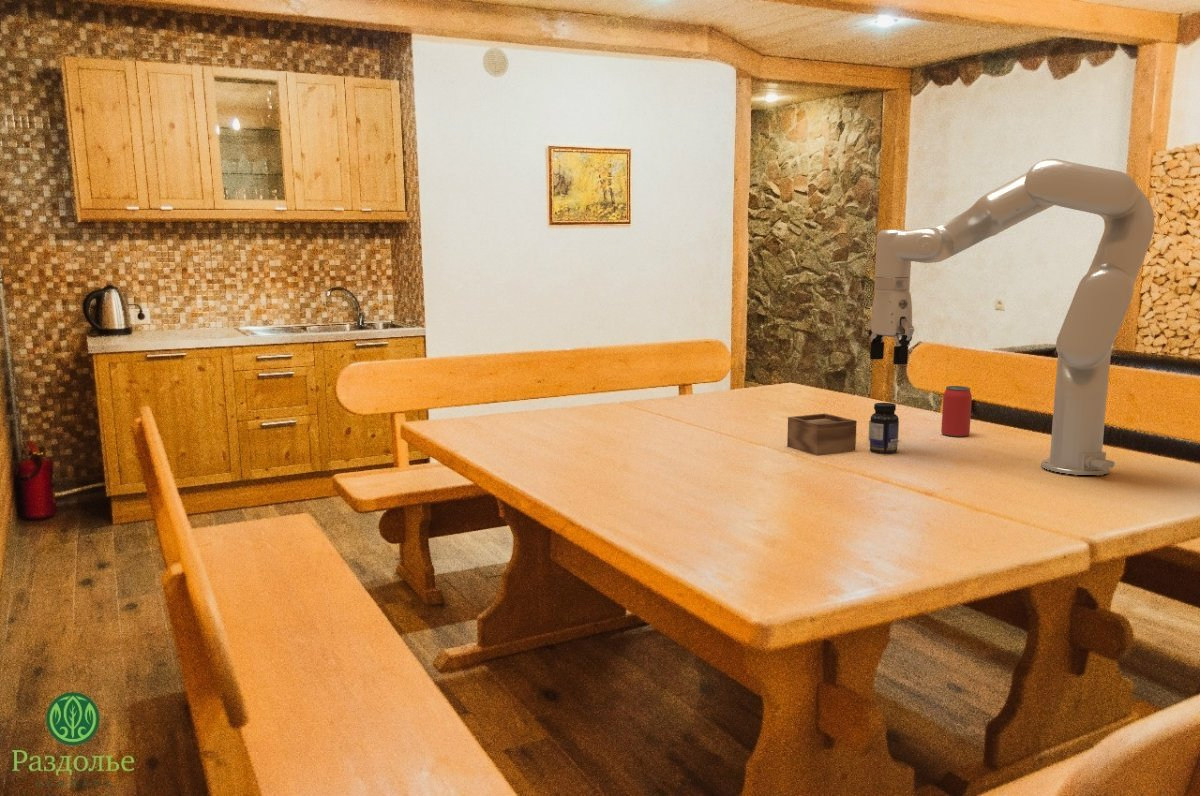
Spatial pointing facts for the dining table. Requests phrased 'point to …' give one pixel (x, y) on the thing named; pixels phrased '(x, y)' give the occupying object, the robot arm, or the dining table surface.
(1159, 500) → the dining table surface
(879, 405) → the pill bottle
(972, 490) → the dining table surface
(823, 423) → the walnut open box
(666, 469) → the dining table surface
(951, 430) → the beer can
